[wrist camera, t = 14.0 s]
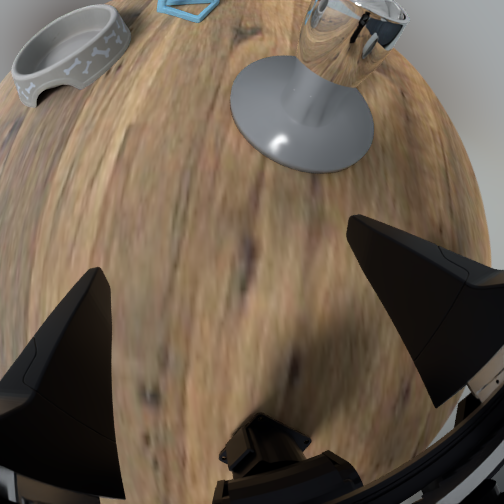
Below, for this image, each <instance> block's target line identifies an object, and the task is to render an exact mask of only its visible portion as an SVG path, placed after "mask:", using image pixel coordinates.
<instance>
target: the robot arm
mask: <svg viewBox="0 0 504 504" xmlns="http://www.w3.org/2000/svg"><path fill="white" fill-rule="evenodd" d="M346 237H347V241H348V243H349V245H350V247H351V249H352V251H353V252H354V254H355V256H356V258H357V260H358V263H359V265H360V267H361V268H362V270H363V272H364V274H365V276H366V277H367V279H368V281H369V282H370V284H371V286H372V287H373V289H374V291H375V292H376V294H377V296H378V297H379V299H380V301H381V302H382V304H383V306H384V308H385V309H386V311H387V313H388V315H389V316H390V318H391V320H392V322H393V324H394V325H395V327H396V329H397V331H398V333H399V335H400V336H401V338H402V340H403V342H404V344H405V346H406V348H407V350H408V352H409V354H410V356H411V358H412V360H413V361H414V364H415V366H416V368H417V370H418V372H419V374H420V376H421V378H422V380H423V382H424V385H425V387H426V389H427V391H428V393H429V396H430V398H431V400H432V402H433V404H434V406H435V408H438V407H439V406H440V405H442V404H443V403H444V402H446V401H447V400H448V399H450V398H451V397H452V396H453V395H455V394H456V393H457V392H458V391H460V390H461V389H462V388H463V387H465V386H466V385H467V386H468V388H469V389H470V391H471V393H470V394H469V395H467V396H466V397H465V398H464V399H463V400H462V401H460V402H459V403H458V408H457V414H456V420H455V425H454V429H453V430H451V431H450V432H449V433H447V434H446V435H445V436H444V437H442V438H441V439H440V440H438V441H437V442H436V443H434V444H433V445H432V446H430V447H429V448H427V449H426V450H425V451H423V452H422V453H420V454H419V455H417V456H416V457H414V458H413V459H411V460H409V461H408V462H406V463H405V464H403V465H401V466H400V467H398V468H396V469H395V470H393V471H391V472H390V473H388V474H386V475H384V476H382V477H380V478H379V479H377V480H375V481H373V482H371V483H369V484H367V485H365V486H363V483H362V481H361V479H360V477H359V475H358V473H357V471H356V470H355V469H354V467H353V466H352V465H351V464H350V463H349V462H348V461H346V460H344V459H342V458H341V457H339V456H337V455H336V454H334V453H333V452H331V451H329V450H327V451H325V452H322V454H320V455H317V456H315V457H312V458H309V459H306V457H305V456H304V454H303V451H304V450H305V449H306V448H307V447H308V446H309V445H310V443H311V439H310V437H308V436H306V435H304V434H302V433H300V432H298V431H296V430H294V429H292V428H290V427H288V426H286V425H284V424H282V423H280V422H279V421H277V420H275V419H273V418H271V417H269V416H268V415H266V414H264V413H257V414H256V415H255V416H254V417H253V418H252V419H251V421H250V422H249V423H248V424H247V425H246V426H245V427H242V428H240V430H239V431H238V432H237V433H236V434H235V435H234V436H233V437H232V438H231V439H230V440H229V441H228V442H227V444H226V448H225V449H224V450H223V451H222V452H221V453H220V454H219V460H220V461H222V462H224V463H226V464H228V468H229V471H232V474H233V479H232V480H227V481H225V480H221V481H218V482H217V486H216V488H215V492H214V497H213V501H212V504H400V503H401V502H403V501H405V500H406V499H408V498H409V497H411V496H413V495H414V494H416V493H417V492H418V491H420V490H422V492H423V495H422V499H420V500H418V501H416V502H414V503H412V504H504V492H502V493H501V492H500V490H499V488H498V485H497V483H496V481H495V480H492V479H491V478H492V477H493V476H494V475H495V474H496V473H497V472H498V471H499V470H500V468H501V467H502V466H503V465H504V270H497V269H493V268H490V267H488V266H485V265H483V264H481V263H478V262H476V261H473V260H471V259H468V258H466V257H464V256H461V255H459V254H456V253H454V252H452V251H450V250H447V249H445V248H443V247H440V246H437V245H436V244H434V243H431V242H429V241H427V240H424V239H422V238H419V237H417V236H415V235H412V234H410V233H407V232H405V231H402V230H400V229H397V228H395V227H392V226H390V225H387V224H385V223H382V222H379V221H377V220H374V219H372V218H369V217H366V216H363V215H361V214H358V215H352V216H350V217H349V220H348V227H347V233H346ZM111 350H112V317H111V290H110V286H109V283H108V281H107V279H106V277H105V275H104V273H103V271H102V269H101V268H100V267H95V268H91V269H89V270H88V271H87V272H86V273H85V274H84V275H83V276H82V277H81V278H80V280H79V281H78V282H77V283H76V284H75V285H74V286H73V288H72V289H71V290H70V291H69V292H68V293H67V295H66V296H65V297H64V298H63V299H62V301H61V302H60V303H59V304H58V305H57V307H56V308H55V309H54V310H53V312H52V313H51V314H50V315H49V317H48V318H47V319H46V320H45V322H44V323H43V324H42V326H41V327H40V328H39V330H38V331H37V332H36V334H35V335H34V337H33V338H32V339H31V340H30V342H29V343H28V345H27V346H26V347H25V349H24V350H23V351H22V353H21V354H20V355H19V357H18V358H17V359H16V361H15V362H14V363H13V365H12V366H11V367H10V369H9V370H8V371H7V373H6V374H5V375H4V377H3V378H2V379H1V381H0V504H100V498H99V497H101V498H110V499H121V500H125V499H126V498H125V492H124V488H123V483H122V477H121V472H120V466H119V459H118V452H117V445H116V438H115V428H114V417H113V402H112V376H111ZM259 417H263V418H262V419H260V420H259V419H258V418H259ZM306 440H308V441H307V442H304V441H306ZM223 456H226V458H222V457H223Z"/></svg>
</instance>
